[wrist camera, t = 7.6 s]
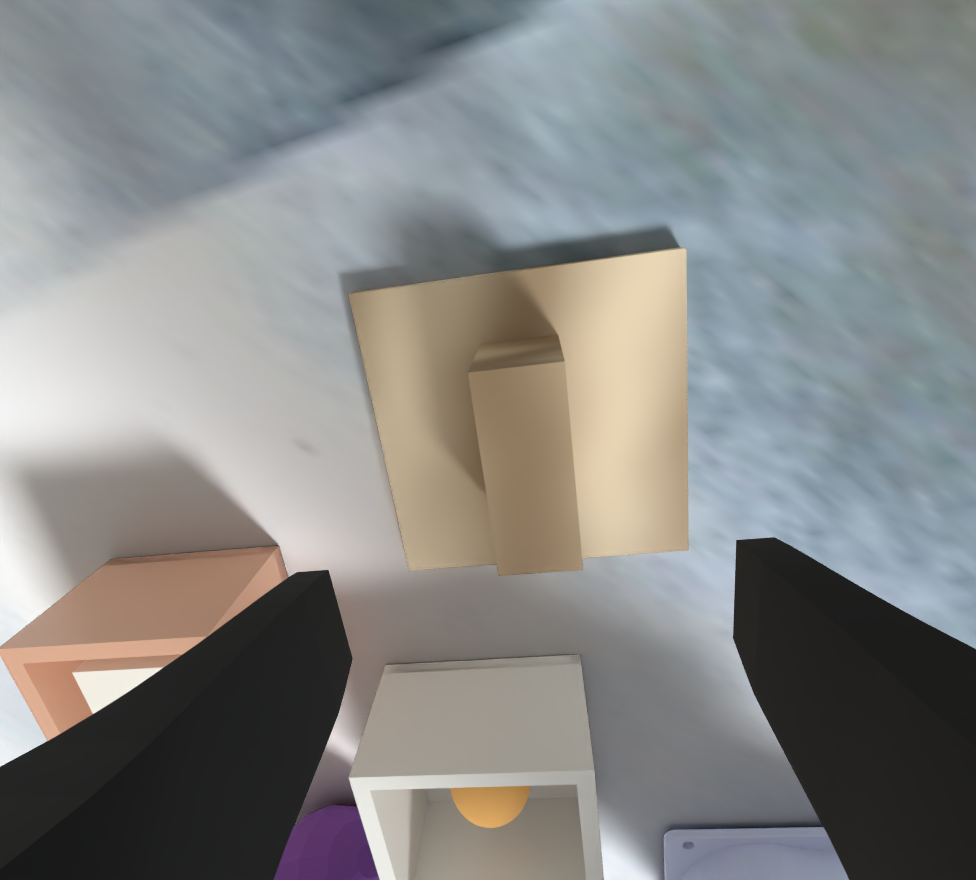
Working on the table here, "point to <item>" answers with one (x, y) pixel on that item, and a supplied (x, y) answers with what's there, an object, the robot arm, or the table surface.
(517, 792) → the orange ball
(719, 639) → the table surface
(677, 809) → the table surface
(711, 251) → the table surface
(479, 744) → the white open box
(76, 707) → the salmon open box
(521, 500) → the lid
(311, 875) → the kendama
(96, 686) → the white block
